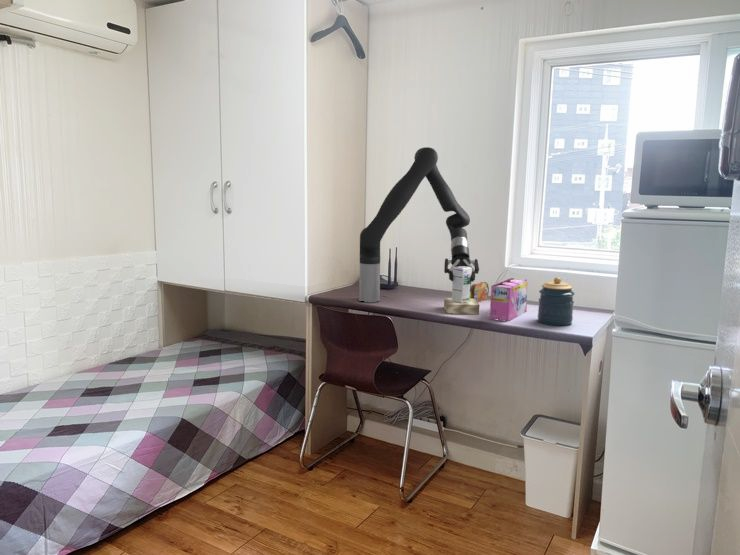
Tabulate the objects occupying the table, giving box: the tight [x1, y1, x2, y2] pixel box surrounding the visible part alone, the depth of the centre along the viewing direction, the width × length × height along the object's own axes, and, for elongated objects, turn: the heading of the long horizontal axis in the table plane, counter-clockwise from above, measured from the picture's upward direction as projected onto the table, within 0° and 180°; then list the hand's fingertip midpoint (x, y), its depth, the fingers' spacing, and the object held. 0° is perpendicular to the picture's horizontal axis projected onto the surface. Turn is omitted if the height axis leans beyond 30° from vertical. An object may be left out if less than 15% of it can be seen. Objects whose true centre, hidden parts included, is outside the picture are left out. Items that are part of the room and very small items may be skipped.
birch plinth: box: [443, 297, 480, 315], centre depth 233 cm, size 13×13×4 cm
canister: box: [537, 276, 575, 326], centre depth 214 cm, size 13×13×18 cm
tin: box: [471, 281, 490, 303], centre depth 254 cm, size 15×3×8 cm, turn 143°
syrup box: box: [451, 266, 473, 303], centre depth 231 cm, size 6×6×14 cm
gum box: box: [489, 277, 529, 322], centre depth 226 cm, size 24×8×14 cm, turn 147°
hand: (462, 280), depth 230 cm, fingers open, 8 cm apart
